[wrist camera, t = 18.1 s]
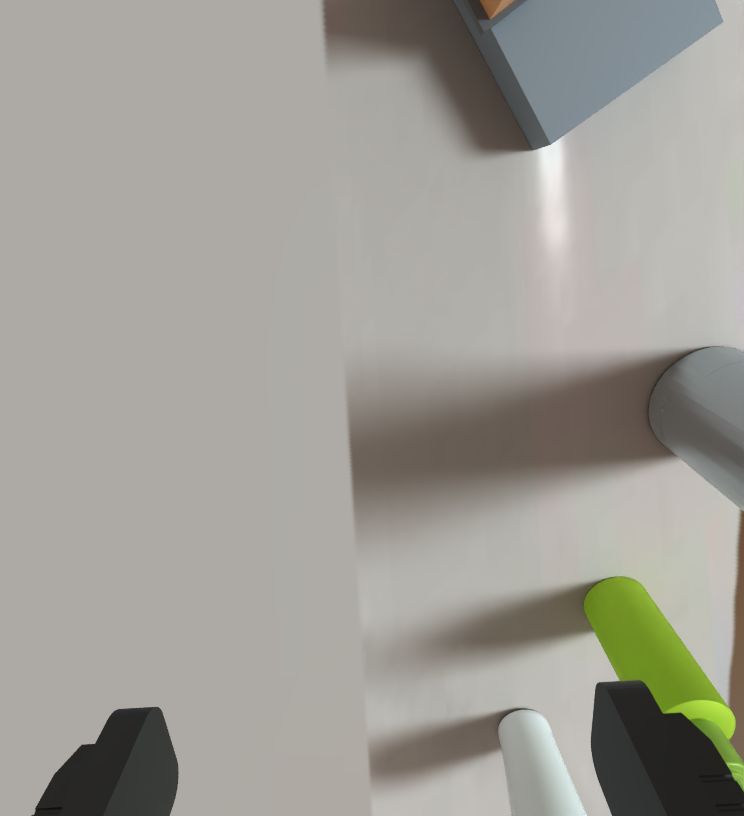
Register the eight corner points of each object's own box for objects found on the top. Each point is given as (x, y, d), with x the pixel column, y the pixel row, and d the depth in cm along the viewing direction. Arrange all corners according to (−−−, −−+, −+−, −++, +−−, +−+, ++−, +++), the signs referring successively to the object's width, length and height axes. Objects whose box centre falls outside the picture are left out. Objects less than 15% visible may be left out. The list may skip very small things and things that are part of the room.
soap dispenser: (561, 609, 50) (673, 849, 32) (620, 565, 49) (775, 792, 30) (601, 642, 52) (729, 890, 33) (659, 600, 50) (830, 838, 31)
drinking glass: (556, 744, 57) (615, 921, 43) (492, 751, 57) (530, 928, 43) (553, 697, 54) (616, 869, 40) (487, 705, 55) (526, 877, 41)
